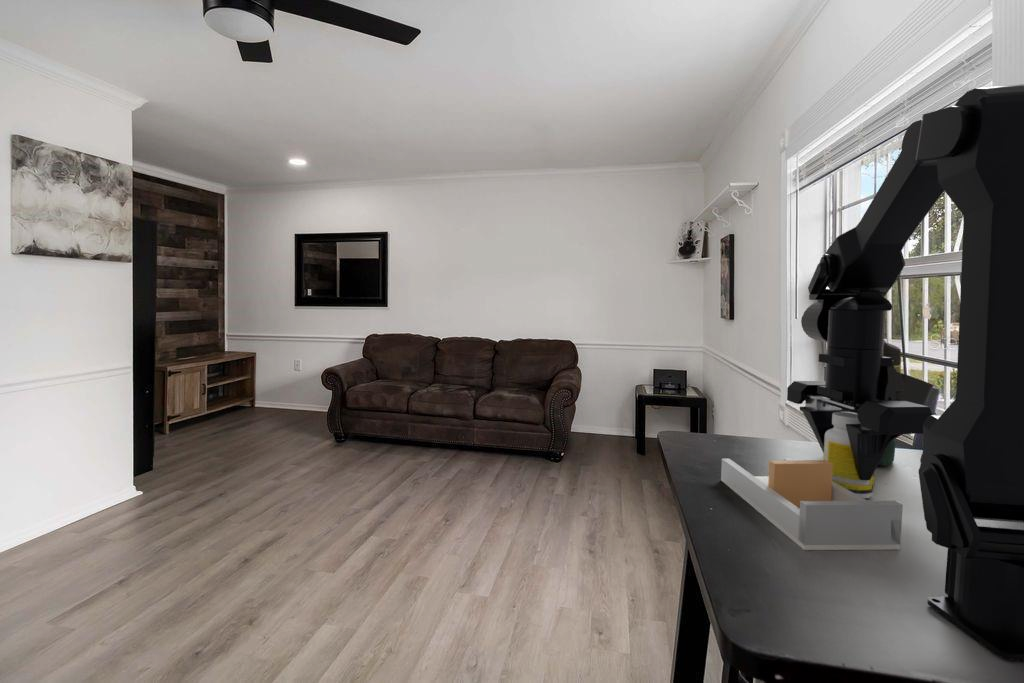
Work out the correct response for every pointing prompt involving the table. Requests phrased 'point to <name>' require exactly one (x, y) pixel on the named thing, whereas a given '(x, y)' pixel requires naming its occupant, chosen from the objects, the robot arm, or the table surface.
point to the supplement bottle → (845, 456)
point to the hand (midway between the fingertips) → (848, 471)
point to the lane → (821, 514)
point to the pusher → (801, 479)
